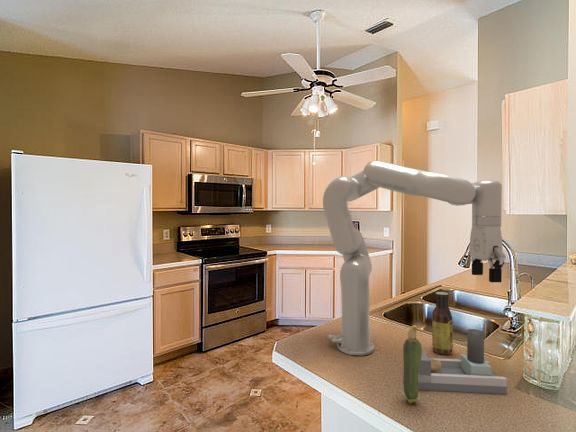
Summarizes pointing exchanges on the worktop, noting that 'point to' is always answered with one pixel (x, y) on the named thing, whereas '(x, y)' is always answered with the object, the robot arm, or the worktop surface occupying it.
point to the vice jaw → (475, 355)
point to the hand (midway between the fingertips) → (485, 278)
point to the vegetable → (411, 365)
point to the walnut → (435, 366)
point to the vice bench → (457, 378)
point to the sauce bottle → (442, 325)
